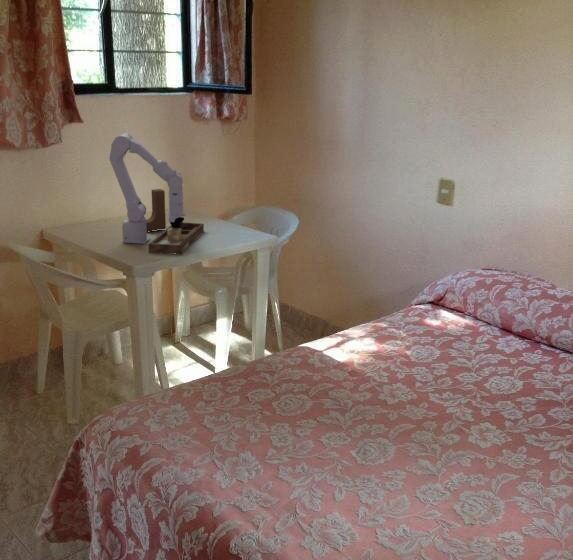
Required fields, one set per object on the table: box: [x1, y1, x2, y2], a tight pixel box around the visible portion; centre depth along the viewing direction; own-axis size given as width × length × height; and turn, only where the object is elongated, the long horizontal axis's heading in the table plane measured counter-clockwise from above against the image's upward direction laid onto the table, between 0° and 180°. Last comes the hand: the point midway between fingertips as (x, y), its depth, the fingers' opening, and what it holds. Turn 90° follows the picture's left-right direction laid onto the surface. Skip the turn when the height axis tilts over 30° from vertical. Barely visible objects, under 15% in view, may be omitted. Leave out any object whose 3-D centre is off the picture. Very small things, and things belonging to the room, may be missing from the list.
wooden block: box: [146, 188, 167, 233], centre depth 291 cm, size 9×4×18 cm, turn 125°
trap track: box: [148, 221, 205, 255], centre depth 278 cm, size 13×37×4 cm, turn 173°
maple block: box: [167, 227, 181, 241], centre depth 272 cm, size 4×4×4 cm
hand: (176, 235), depth 276 cm, fingers closed
